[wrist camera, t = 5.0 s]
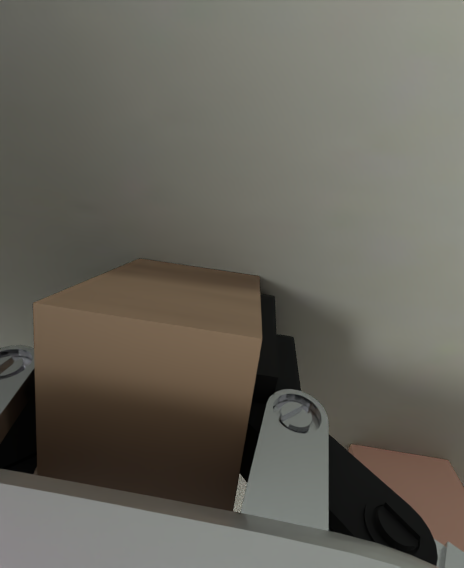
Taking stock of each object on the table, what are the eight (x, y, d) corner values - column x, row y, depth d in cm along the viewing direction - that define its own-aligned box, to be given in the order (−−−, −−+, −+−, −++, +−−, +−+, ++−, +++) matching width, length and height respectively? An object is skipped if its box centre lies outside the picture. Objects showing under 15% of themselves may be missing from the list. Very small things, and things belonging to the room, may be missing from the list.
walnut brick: (139, 258, 10) (32, 302, 5) (259, 276, 10) (262, 338, 5) (130, 414, 12) (39, 560, 7) (234, 431, 11) (218, 595, 7)
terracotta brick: (350, 442, 13) (394, 604, 8) (447, 458, 13) (545, 633, 8) (317, 521, 16) (337, 677, 11) (397, 535, 15) (451, 700, 11)
